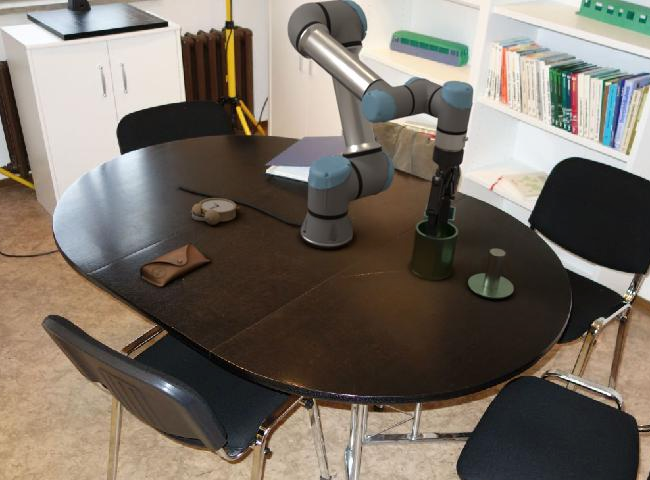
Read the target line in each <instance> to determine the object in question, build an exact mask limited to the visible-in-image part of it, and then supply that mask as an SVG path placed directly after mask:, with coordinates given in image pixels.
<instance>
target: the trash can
mask: <svg viewBox="0 0 650 480" xmlns="http://www.w3.org/2000/svg"><path fill="white" fill-rule="evenodd" d="M427 223H428V220H424V219H423V220H421V221H419V222H417V223H416V224H415V230H414V235H413V236H414V237H413V244H412V252H411V260H410V270H411V272H412V274H414V275H415V276H417V277H418V278H421V279H424V280H427V281H442V280H445V279H447V278H449V277H450V276H451V274H452V271H453V265H454V259H455V254H456V247H457V242H458V236H459V230H458V227H457V226H456V225H454V223H453V224H451V223H449V222H448V223H447V224H446V223H442V222H439V223H438V230H437V236H436V237H433V236H430V235H426V230H427Z"/></svg>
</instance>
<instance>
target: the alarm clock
mask: <svg viewBox="0 0 650 480" xmlns="http://www.w3.org/2000/svg"><path fill="white" fill-rule="evenodd" d="M237 210H240V207H239V206H237V203H236V202H233V201H231V200H227V199H223V198H214V197H210V198H209V197H208V198H205V199H203V200H200V201H199V202H198V203H195V204H194V205H192V208H191V211H190V214H191V217H192V219H194V220H196V221H200V222H201V221H202V222H206V223H207V224H208V225H211V226H215V225H218V224H219V223H220V222H229V221H231V220H233V219H235V218H236V216H237Z"/></svg>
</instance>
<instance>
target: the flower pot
mask: <svg viewBox="0 0 650 480" xmlns="http://www.w3.org/2000/svg"><path fill="white" fill-rule="evenodd" d="M427 205H428V202H427V203H426V204H425V207H424V213H423V220H428V216H429V214H427V213H426V210H427ZM456 210H457V208H456V207H455V206H451V205H450V211H449V217H448V222H449V223H451V224H453V225H454V223H455V216H456V212H457V211H456Z"/></svg>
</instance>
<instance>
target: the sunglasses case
mask: <svg viewBox="0 0 650 480" xmlns="http://www.w3.org/2000/svg"><path fill="white" fill-rule="evenodd" d="M210 262H211V260H210V259H208V258H207V257H205V255H204V254H203V253H201V252H200V251H199V249H197V248H196V246H194V244H193V243H192V242H189V243H188V244H186V245H184V246H181V247H179V248H177V249H175V250H172V251H170V252H168V253H166V254H164V255H162V256H160V257H158V258H156V259H154V260H152V261H149V262H146V263H144V264H143V265H142V266H140V268H139V273H140V274H139V275H140V277H141V278H142V279H143V280H145V281H146V282H148V283H150V284H152V285H154V286H157V287H165V285H167V284H169V283H170V282H172V281H174V280H176V279H178V278H180V277H182V276H184V275H186V274H188V273H190V272H192V271H194V270H197V269H198V268H200V267H202V266H204V265H206V264H208V263H210Z"/></svg>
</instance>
